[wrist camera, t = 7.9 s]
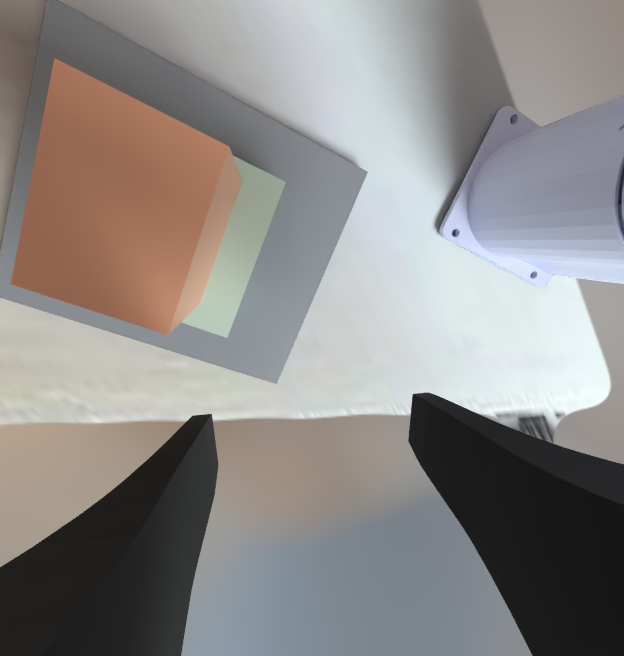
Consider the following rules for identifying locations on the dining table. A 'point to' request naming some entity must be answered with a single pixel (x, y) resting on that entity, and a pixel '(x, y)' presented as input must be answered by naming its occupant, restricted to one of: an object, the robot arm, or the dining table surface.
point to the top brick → (122, 205)
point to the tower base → (247, 142)
